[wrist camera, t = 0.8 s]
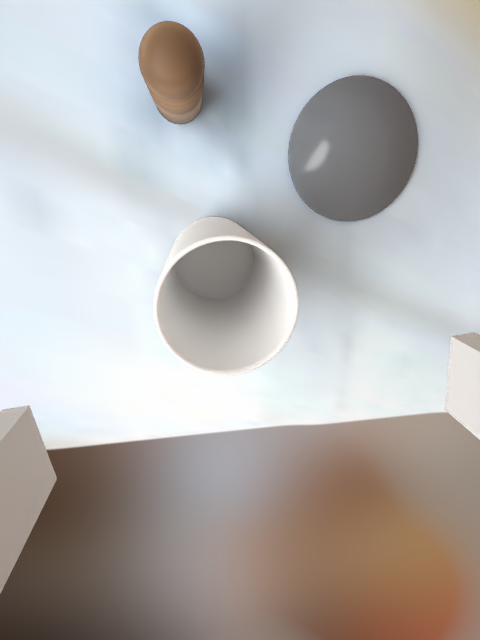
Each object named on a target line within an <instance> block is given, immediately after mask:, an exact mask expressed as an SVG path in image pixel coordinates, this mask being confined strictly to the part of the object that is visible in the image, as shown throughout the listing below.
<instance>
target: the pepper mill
mask: <svg viewBox="0 0 480 640" xmlns="http://www.w3.org/2000/svg"><path fill="white" fill-rule="evenodd" d="M139 66H140V70H141V73H142V76H143V78H144V80H145V83H146V85H147V87H148V89H149V91H150V94H151V96H152V98H153V100H154V102H155V104H156V107H157V109H158V110H159V112H160V113H161V115H162V116H163V117H164V118H165V119H167V120H168V121H170V122H172V123H175V124H185V123H188V122H190V121H192V120H193V119H194V118H195V117H196V116H197V115H198V113H199V112H200V109H201V106H202V98H203V83H204V67H205V64H204V56H203V51H202V48H201V46H200V44H199V42H198V40H197V38H196V37H195V36H194V34H193V33H192V32H191V31H190V30H189V29H188V28H186V27H185V26H183V25H181V24H179V23H177V22H173V21H163V22H159V23H157V24H155V25H153V26H152V27H151V28H150V29H149V30H148V31H147V32H146V33H145V35H144V36H143V38H142V41H141V43H140V47H139Z"/></svg>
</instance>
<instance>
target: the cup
mask: <svg viewBox="0 0 480 640" xmlns="http://www.w3.org/2000/svg"><path fill="white" fill-rule="evenodd" d="M298 311H299V298H298V291H297V287H296V284H295V281H294V278H293V276H292V274H291V272H290V270H289V269H288V267H287V266H286V264H285V263H284V262H283V260H282V259H281V258H280V257H279V256H278V255H277V254H276V253H275V252H274V251H273V250H271V249H270V248H269V247H267V246H266V245H265V244H264V243H262V242H261V241H260V240H258V239H257V238H256V237H254V236H253V235H252V234H250V233H249V232H248V231H246V230H245V229H244V228H242V227H241V226H240V225H238V224H237V223H235V222H233V221H231V220H229V219H226V218H222V217H206V218H202V219H199V220H196V221H194V222H192V223H191V224H189V225H188V226H187V227H186V228H185V229H183V231H182V232H181V233H180V234H179V236H178V237H177V239H176V241H175V243H174V246H173V248H172V250H171V253H170V255H169V257H168V260H167V262H166V264H165V267H164V269H163V271H162V273H161V276H160V278H159V281H158V283H157V287H156V290H155V295H154V318H155V323H156V327H157V330H158V332H159V335H160V337H161V339H162V340H163V342H164V344H165V345H166V347H167V348H168V349H169V350H170V352H171V353H172V354H173V355H174V356H175V357H176V358H178V359H179V360H180V361H181V362H183V363H184V364H186V365H188V366H189V367H191V368H193V369H196V370H198V371H201V372H204V373H208V374H213V375H236V374H241V373H245V372H248V371H251V370H254V369H256V368H258V367H260V366H262V365H264V364H265V363H267V362H268V361H270V360H271V359H272V358H273V357H275V356H276V355H277V354H278V353H279V352H280V351H281V350H282V348H283V347H284V346H285V345H286V343H287V342H288V340H289V338H290V337H291V335H292V333H293V330H294V328H295V325H296V322H297V317H298Z"/></svg>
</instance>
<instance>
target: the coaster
mask: <svg viewBox="0 0 480 640" xmlns="http://www.w3.org/2000/svg"><path fill="white" fill-rule="evenodd" d="M417 146H418V137H417V128H416V123H415V119H414V116H413V114H412V111H411V109H410V107H409V105H408V103H407V102H406V100H405V99H404V97H403V96H402V95H401V94H400V93H399V92H398V91H397V90H396V89H395V88H394V87H393V86H391V85H390V84H388V83H387V82H384V81H382V80H380V79H377V78H374V77H370V76H351V77H345V78H342V79H339V80H337V81H335V82H333V83H331V84H329V85H327V86H326V87H324V88H323V89H322V90H320V91H319V92H318V93H317V94H316V95H315V96H313V97H312V98H311V99H310V101H309V102H308V103H307V104H306V105H305V107H304V108H303V110H302V111H301V113H300V114H299V116H298V118H297V120H296V122H295V125H294V128H293V130H292V134H291V138H290V142H289V152H288V157H289V169H290V174H291V178H292V181H293V183H294V186H295V188H296V190H297V192H298V194H299V195H300V197H301V198H302V199H303V201H304V202H305V203H306V204H307V205H308V206H309V207H310V208H311V209H313V210H314V211H315V212H317V213H319V214H321V215H322V216H325V217H327V218H330V219H335V220H340V221H356V220H360V219H364V218H367V217H370V216H372V215H374V214H376V213H378V212H380V211H381V210H383V209H384V208H386V207H387V206H388V205H389V204H390V203H392V202H393V200H394V199H395V198H396V197H397V196H398V195H399V194H400V192H401V191H402V190H403V188H404V186H405V185H406V183H407V181H408V179H409V177H410V175H411V173H412V170H413V167H414V164H415V160H416V155H417Z"/></svg>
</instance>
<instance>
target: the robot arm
mask: <svg viewBox="0 0 480 640" xmlns="http://www.w3.org/2000/svg"><path fill="white" fill-rule="evenodd" d="M445 410H446V411H447V412H448V413H449V414H451V415H452V416H453V417H454V418H455V419H457V420H458V421H459V422H460V423H461V424H462V425H463V426H464V427H466V428H467V429H468V430H469V431H470V432H471V433H473V434H474V435H475V436H476V437H477V438H479V439H480V335H478V334H476V333H469V334H462V335H456V336H451V346H450V357H449V369H448V381H447V393H446V404H445ZM56 479H57V478H56V475H55V472H54V470H53V467H52V464H51V462H50V459H49V456H48V454H47V451H46V448H45V446H44V443H43V441H42V438H41V435H40V433H39V430H38V427H37V425H36V422H35V419H34V417H33V414H32V411H31V409H30V406H23V407H17V408H11V409H5V410H2V411H1V412H0V593H1V591H2V589H3V587H4V585H5V583H6V581H7V579H8V577H9V575H10V573H11V571H12V569H13V567H14V565H15V563H16V560H17V559H18V557H19V555H20V552H21V551H22V548H23V546H24V544H25V542H26V540H27V538H28V536H29V534H30V532H31V530H32V528H33V526H34V524H35V522H36V520H37V518H38V516H39V514H40V512H41V510H42V508H43V506H44V504H45V502H46V500H47V498H48V496H49V494H50V492H51V490H52V488H53V486H54V483H55V482H56Z"/></svg>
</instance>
